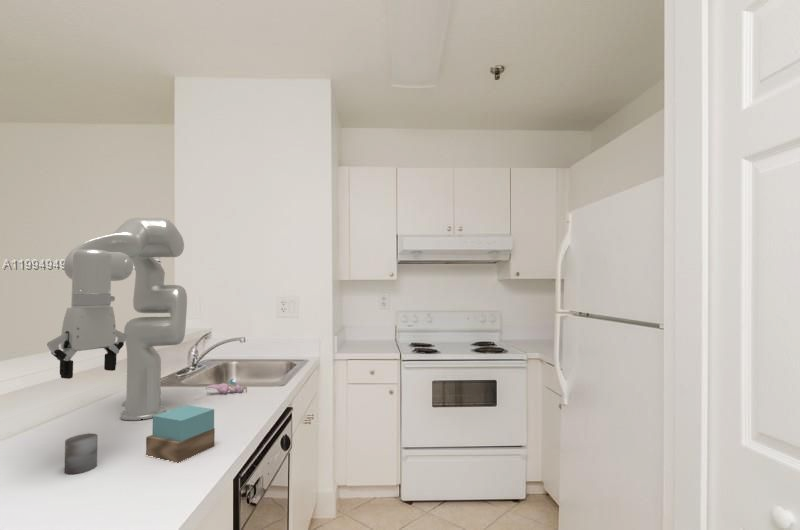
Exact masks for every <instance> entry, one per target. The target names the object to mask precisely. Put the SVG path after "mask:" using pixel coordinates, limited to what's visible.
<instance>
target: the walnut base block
mask: <svg viewBox="0 0 800 530" xmlns="http://www.w3.org/2000/svg"><path fill="white" fill-rule="evenodd" d="M215 429H216V428H215V427H214V429H211V430H209V431H206V432H204V433H202V434H199V435H197V436H194V437H192V438H189V439H187V440H184V441H182V442H179V441H174V440H169V439H164V438H159V437H154V436H152V434H150V435H148V436H146V439H145V442H146V443H145V456H146V455H148V456H153V457H156V458H155V459H157V458H160V459H159V460H161V459H164V460H163V461H166V460H169V461H168V462H171V461H173V462H172V463H175V462H177V463H176V464H180V463H181V461H182V462H183V460H184V461H186V460H188V459H190V458H192V456H193V457H195V456H197V455H199V454H201V453H203V452H205V451H208V450H209V449H212V448H214V447H215V433H216V431H215ZM198 453H199V454H198ZM196 454H197V455H196ZM194 455H195V456H194ZM187 458H188V459H187ZM185 459H186V460H185ZM179 462H180V463H179Z"/></svg>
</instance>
